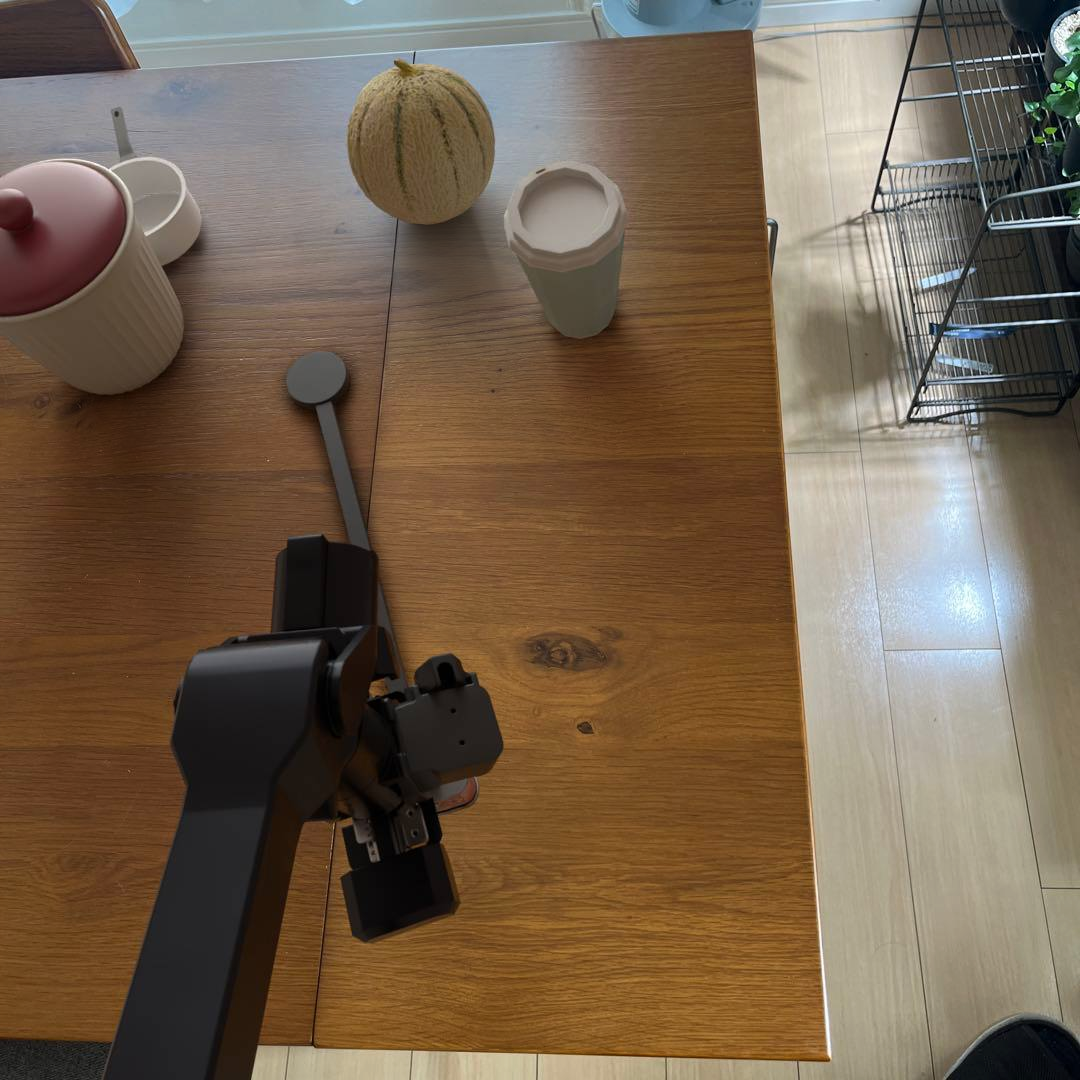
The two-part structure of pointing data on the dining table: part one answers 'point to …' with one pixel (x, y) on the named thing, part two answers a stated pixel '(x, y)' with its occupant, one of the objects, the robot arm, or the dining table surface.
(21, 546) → the dining table surface
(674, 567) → the dining table surface
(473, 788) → the lighter
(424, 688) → the robot arm
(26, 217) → the canister
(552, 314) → the disposable coffee cup
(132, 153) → the saucepan
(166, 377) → the dining table surface
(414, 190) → the cantaloupe
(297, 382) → the spoon
